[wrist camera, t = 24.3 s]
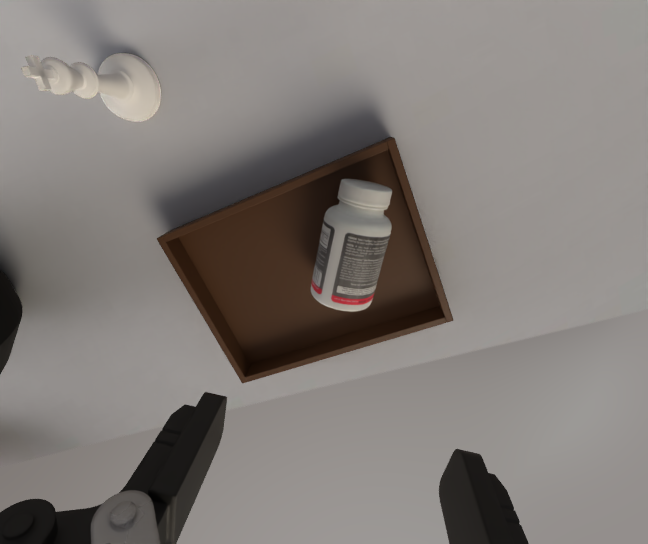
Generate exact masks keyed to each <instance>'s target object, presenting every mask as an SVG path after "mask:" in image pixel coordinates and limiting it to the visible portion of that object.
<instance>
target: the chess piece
mask: <svg viewBox="0 0 648 544" xmlns="http://www.w3.org/2000/svg"><path fill="white" fill-rule="evenodd" d="M25 58H26V60H27V63H28V65H29V66H26V67H23V68H21V69H22V72H23V74H24V76H25V77H30V78H34V79H35V81H36V83H37V86H38V88H39V90H42V91H47V90H49V91H50V92H52V93H54V94H57V95H64V94H67V93H70V92H71V91H73V92H74V93H75V94H76V95H78V96H80V97H82V98H85V99H90V98H93V97H94V96H95V95H96V94H97V93H98V92H99V93H100V96H101V98H102V100H103V102H104V103H105V105H106V106H107V107H108V108H109V110H110V111H112V112H113V113H114V114H115V115H117V116H118V117H120V118H122V119H125V120H129V121H133V122H142V121H145V120H148V119H149V118H151V117H152V116H153V115H154V114H155V113H156V111H157V110H158V108H159V105H160V101H161V88H160V83H159V80H158V78H157V76H156V74H155V72H154V71H153V69H152V68H151V67H150V65H149V64H148V63H147V62H145V61H144V60H143V59H141V58H140V57H138V56H136V55H133V54H128V53H117V54H113V55H111V56H109V57H107V58H106V59H105V60H104V61H103V63H102V64H101V66H100V68H99V71H98V74H96V73H95V71H94V70H93V69H92V68H91V67H90V66H89V65H87V64H85V63H81V62H78V63H74V64H72V65H70V66H69V65H67V64H66V63H65V62H63V61H62V60H60V59H57V58H54V57H48V58H45V59H43V60H42V61H41V62H40V60H39V57H37V56H33V55H31V56H27V57H25Z"/></svg>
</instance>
